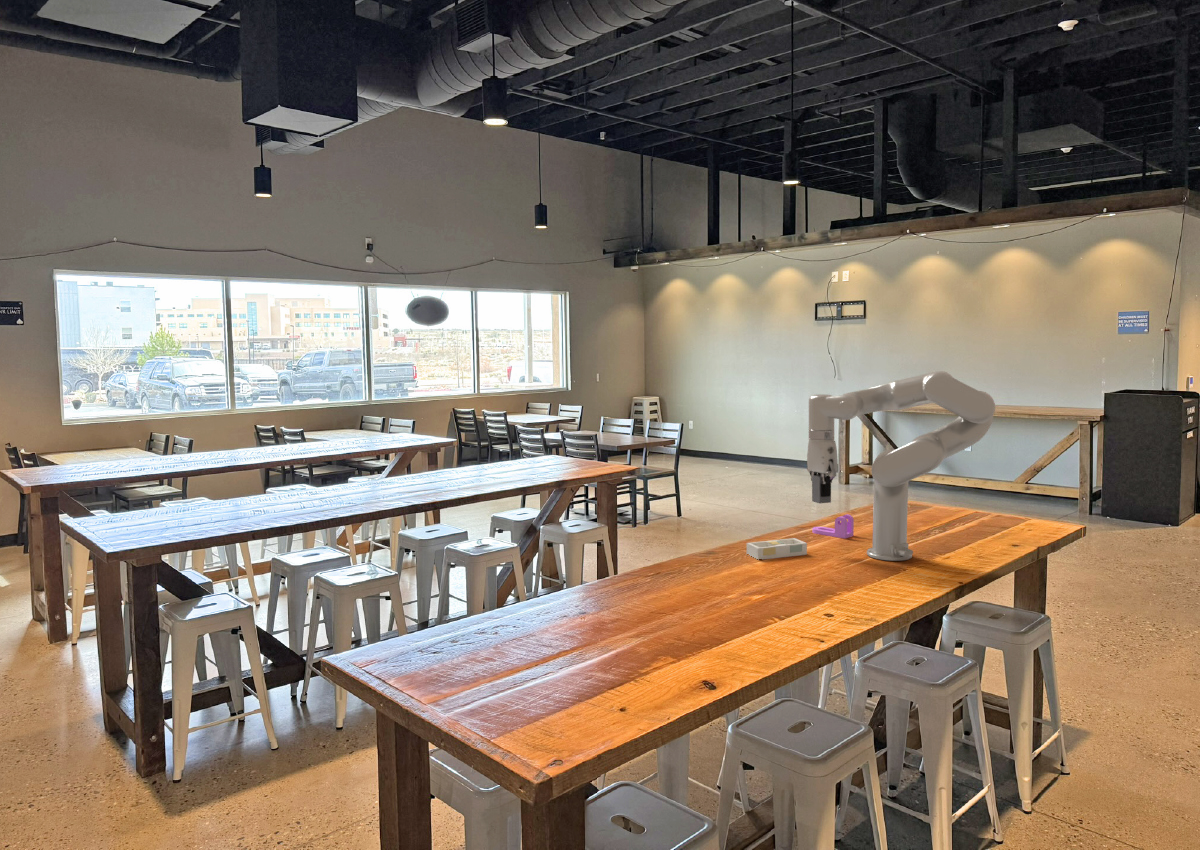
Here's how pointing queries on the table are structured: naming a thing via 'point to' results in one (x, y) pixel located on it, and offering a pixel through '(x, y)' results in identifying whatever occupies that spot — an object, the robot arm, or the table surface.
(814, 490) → the plug
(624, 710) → the table surface
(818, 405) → the robot arm
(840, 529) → the bracket
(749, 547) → the socket block
